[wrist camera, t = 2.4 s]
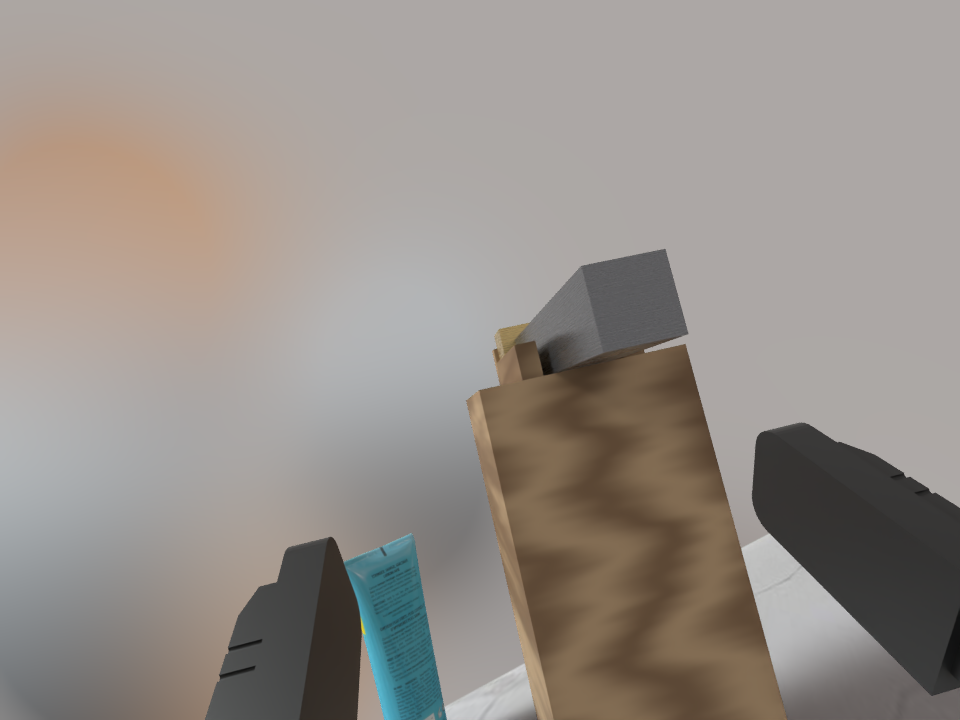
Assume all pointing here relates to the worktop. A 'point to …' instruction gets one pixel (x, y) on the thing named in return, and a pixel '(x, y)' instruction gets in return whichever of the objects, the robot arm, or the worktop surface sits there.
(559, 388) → the post
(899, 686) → the worktop surface
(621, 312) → the grey long block
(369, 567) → the tube
